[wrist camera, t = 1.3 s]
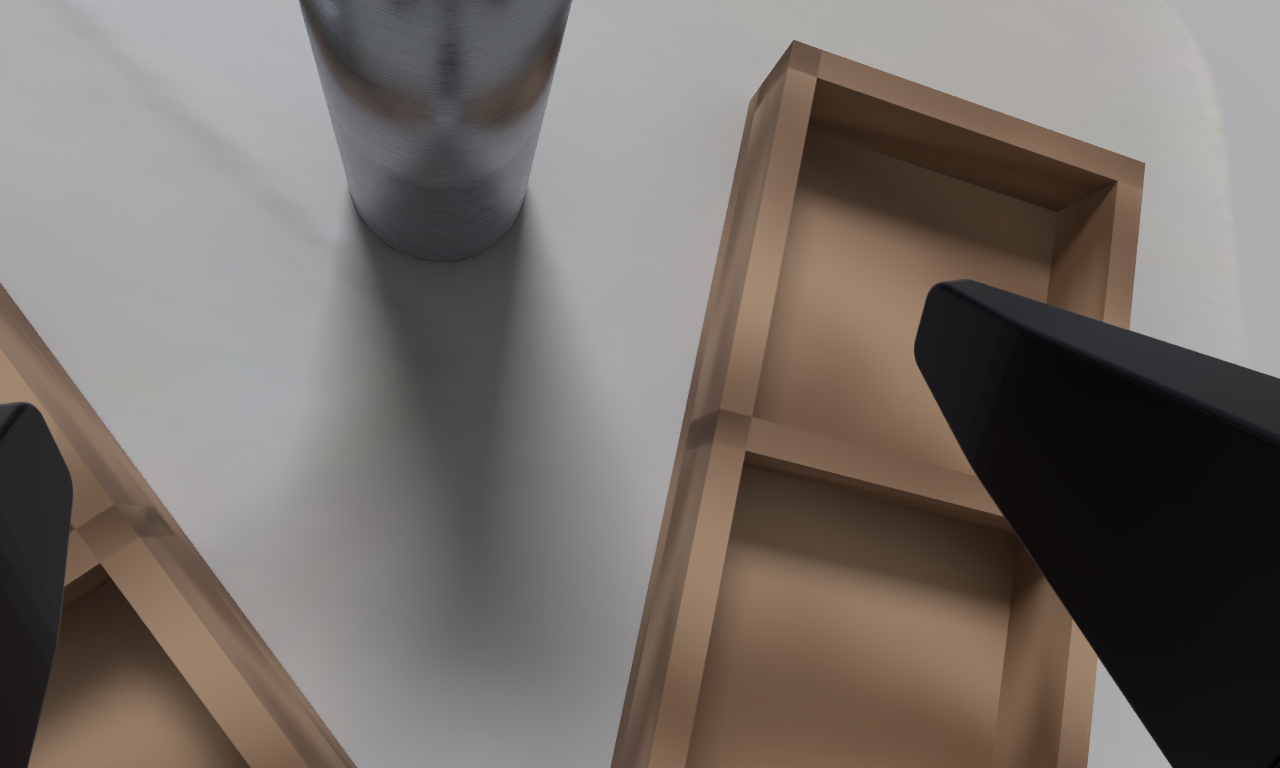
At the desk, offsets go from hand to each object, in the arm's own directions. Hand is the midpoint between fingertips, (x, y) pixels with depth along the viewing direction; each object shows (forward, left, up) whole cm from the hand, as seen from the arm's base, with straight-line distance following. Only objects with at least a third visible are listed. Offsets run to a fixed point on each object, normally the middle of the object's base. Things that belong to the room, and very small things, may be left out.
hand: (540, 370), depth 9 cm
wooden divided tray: (-8, -6, -13) cm, 17 cm away
